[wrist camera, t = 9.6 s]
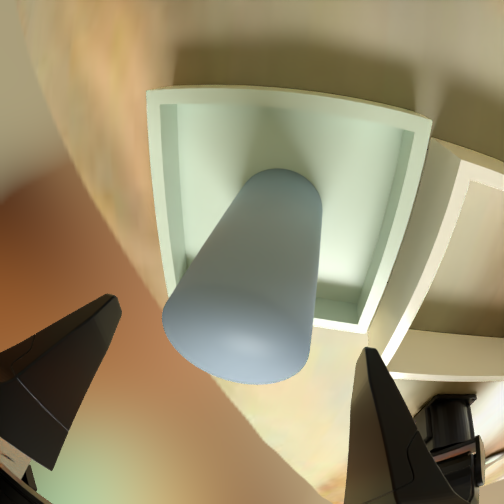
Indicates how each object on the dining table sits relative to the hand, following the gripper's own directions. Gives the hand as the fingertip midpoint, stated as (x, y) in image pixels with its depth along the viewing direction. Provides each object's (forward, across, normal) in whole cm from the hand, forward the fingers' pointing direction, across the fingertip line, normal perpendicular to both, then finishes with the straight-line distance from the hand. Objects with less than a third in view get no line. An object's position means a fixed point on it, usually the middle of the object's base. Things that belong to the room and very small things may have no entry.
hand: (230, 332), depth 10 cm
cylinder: (+10, 0, 0) cm, 10 cm away
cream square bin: (+10, -16, +2) cm, 19 cm away
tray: (+11, 0, 0) cm, 11 cm away
